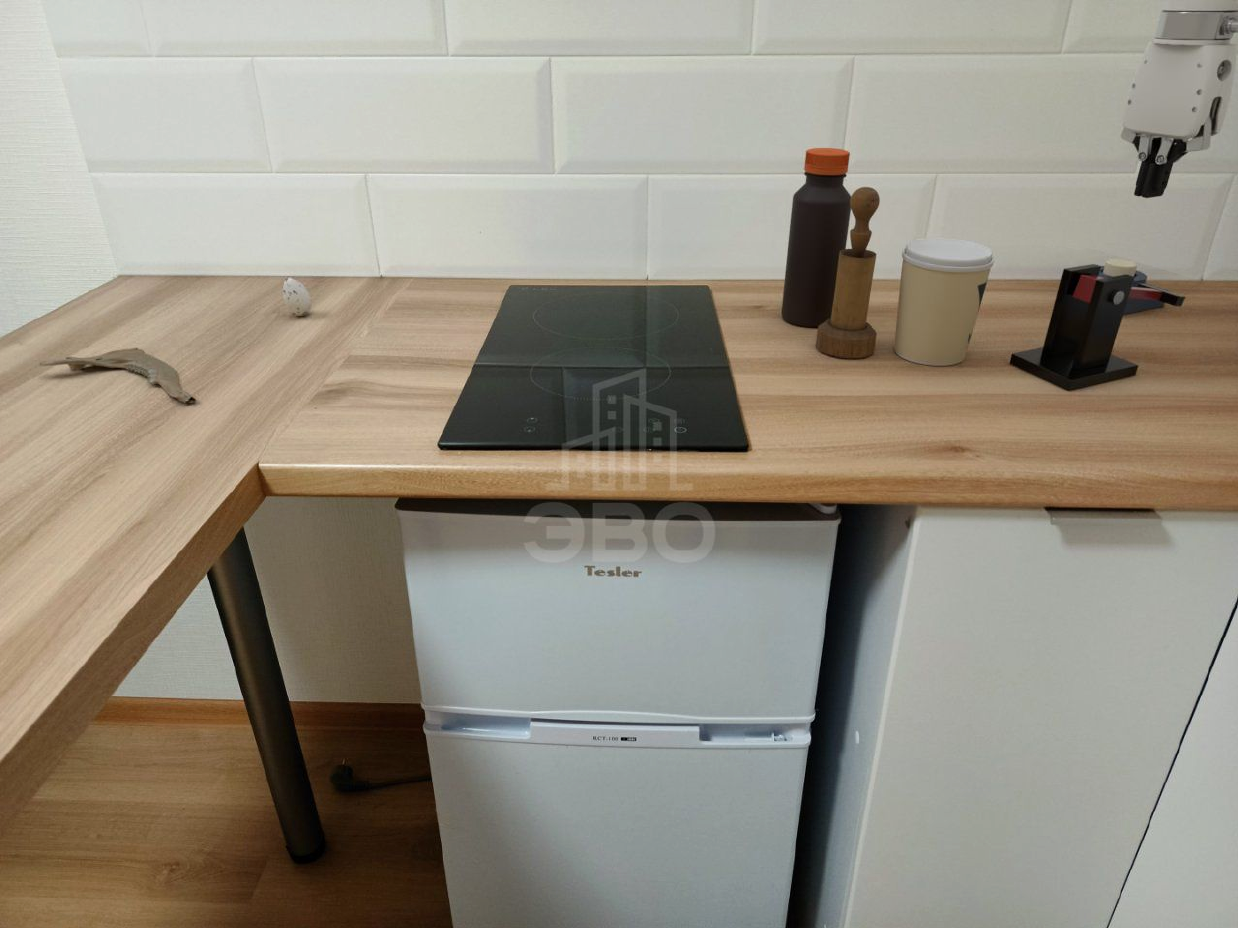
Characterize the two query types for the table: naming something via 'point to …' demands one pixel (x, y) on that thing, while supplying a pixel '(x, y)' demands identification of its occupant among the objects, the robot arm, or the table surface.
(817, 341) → the mortar and pestle
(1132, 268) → the button
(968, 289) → the coffee cup
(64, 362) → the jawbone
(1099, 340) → the black stand
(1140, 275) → the button box
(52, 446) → the table surface
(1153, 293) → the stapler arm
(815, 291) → the bottle
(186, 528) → the table surface
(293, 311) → the egg
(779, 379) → the table surface
